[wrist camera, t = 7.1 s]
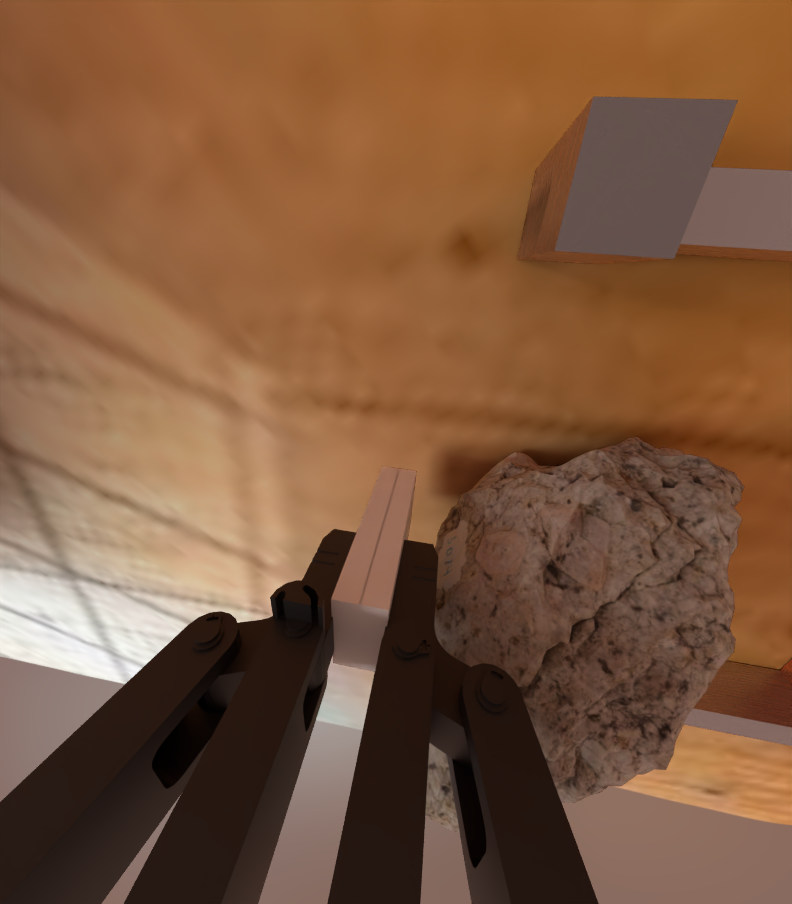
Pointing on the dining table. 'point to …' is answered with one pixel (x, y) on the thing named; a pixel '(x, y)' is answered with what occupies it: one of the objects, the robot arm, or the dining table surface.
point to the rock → (591, 603)
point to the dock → (659, 238)
